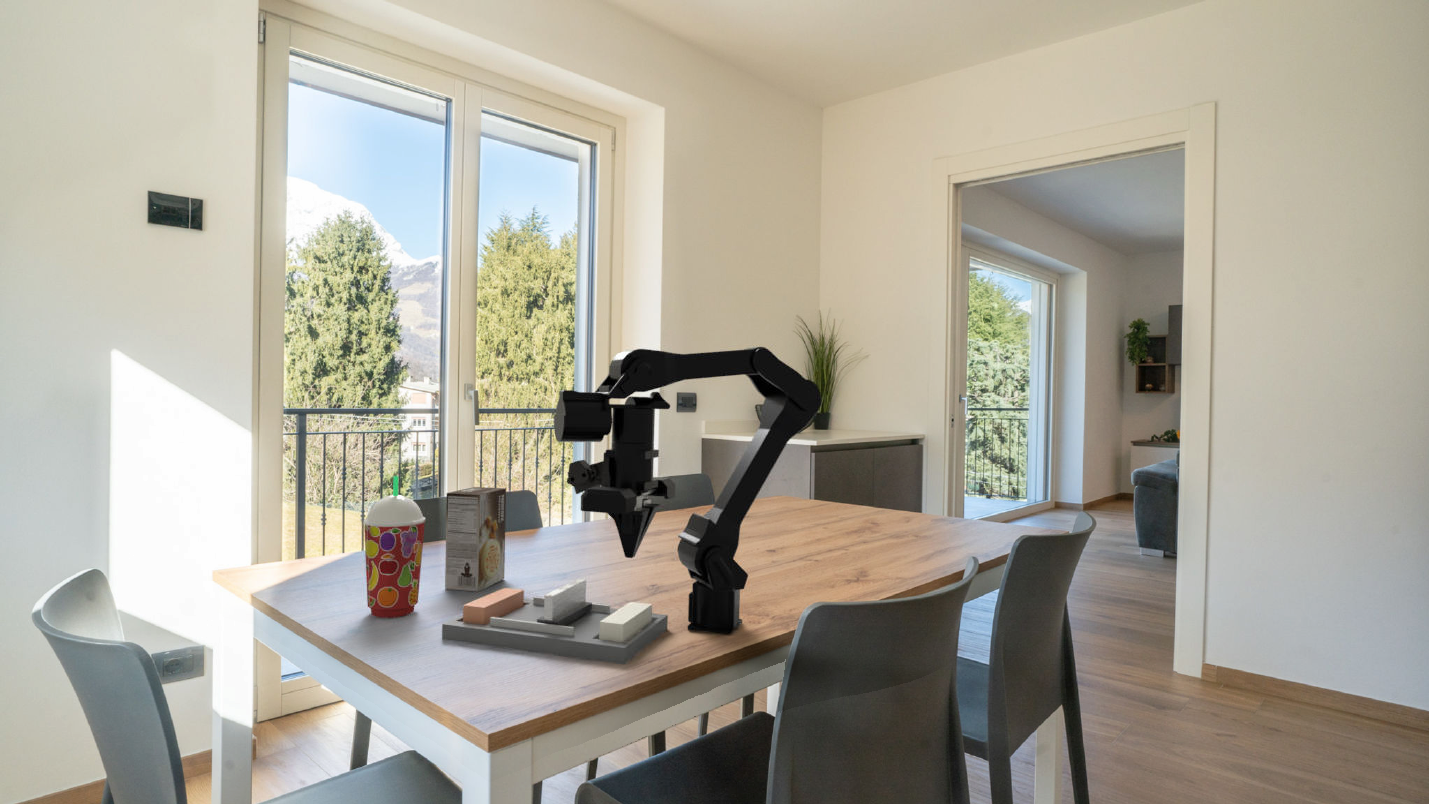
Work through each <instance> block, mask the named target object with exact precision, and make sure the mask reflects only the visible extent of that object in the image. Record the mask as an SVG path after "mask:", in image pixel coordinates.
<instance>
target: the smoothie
mask: <svg viewBox="0 0 1429 804" xmlns="http://www.w3.org/2000/svg"><path fill="white" fill-rule="evenodd" d="M392 484H393V486H392V487H393V489H392V494H390V495H387V496H384V497H382V498H381V499H379V500H377V501H376V502H375V503H374V504H373V505H372V506H371V508H370V509H369V511H368V513H367V516H366V517H365V518H364V519H363V524H364V526H363V527H364V529H363V530H364V547H365V549H364V551H365V553H364V554H365V555H364V556H365V574H366V575H365V576H366V595H367V597H366V601H367V603H366V604H367V607H368V608H370V612H371V615H372V616H373V617H375V618H379V619H395V618H396V619H397V618H401V617H406V616H408V615H411V614H412V613H413V612H414V610H415V606H416V605H417V604H418V603H419V591H420V581H421V572H422V571H421V570H422V569H421V568H422V559H423V547H424V546H423V545H424V537H425V522H426V517H424V516H423V511H421V508H420V507H419V505H418V503H416V501H414V500H413V499H412V498H410V497H408V496H405V495H402V494H399V476H398V475H396V476H395V475H394V476H393V483H392Z"/></svg>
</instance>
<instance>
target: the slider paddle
mask: <svg viewBox="0 0 1429 804" xmlns="http://www.w3.org/2000/svg"><path fill="white" fill-rule="evenodd" d="M543 598H544V616H542V617H541V618H539V619H537V623H545V624H553V625H561V626H565V625H566V624H568V623H570V622H572V621H573V620H575V619H577V618H578V617H580V616H582V615H584V614H585V613H587V612H589V611H590V610H592V603H593V602H591V601H589V602H588V601H587V599H586V598H587V579H583V578H582V579H581V578H577V579H576V580H574V581H571V582H569V583H567V584H565V585H563V586H560V587H559V588H557V589H554V590H553V591H550V592H548V593H546V594H544V597H543Z"/></svg>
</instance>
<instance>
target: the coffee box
mask: <svg viewBox="0 0 1429 804" xmlns="http://www.w3.org/2000/svg"><path fill="white" fill-rule="evenodd" d="M506 493H507V488H506V487H502V488H501V487H484V486H483V487H482V486H472V487H469V488H465V489H459V490H455V491H450V492H449V491H448V492H446V507H445V508H446V511H445V513H446V514H445V515H446V516H445V519H446V520H445V522H446V523H445V563H444V564H445V567H444V572H445V573H444V575H445V576H444V578H445V579H444V589H445V590H453V591H467V592H477V593H478V592H480V591H482V590H484V589H486V588H488V587H491V586H492V585H495V584H496V583H498V582H501V581H503V580H505V569H506V568H505V565H506V561H505V560H506V557H505V556H506V552H505V551H506V513H507V512H506V509H507V507H506V505H507V504H506V503H507V500H506V499H507V494H506Z"/></svg>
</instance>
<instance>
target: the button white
mask: <svg viewBox="0 0 1429 804" xmlns="http://www.w3.org/2000/svg"><path fill="white" fill-rule="evenodd" d="M652 613H653V604H652V603H643V602H636V601H630V602H629V603H627V604H625V605H623V606H622V607H620V608H619V610H617V611H616V612H614V613H612V614H611V615H609V616H608V617H606V618H605V619H603V620H601V621H600V627H599V639H601V640H608V641H616V642H624V643H626V642H627V641H628V640H630V639H631V638H632V637H634V636H635V635H636V634H638V633H639V632H640V631H642V629H644V628H645V627H646V626H648V625H649V624H650V623H652Z"/></svg>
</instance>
